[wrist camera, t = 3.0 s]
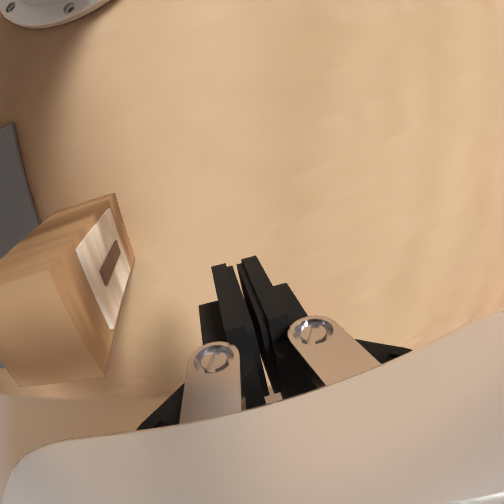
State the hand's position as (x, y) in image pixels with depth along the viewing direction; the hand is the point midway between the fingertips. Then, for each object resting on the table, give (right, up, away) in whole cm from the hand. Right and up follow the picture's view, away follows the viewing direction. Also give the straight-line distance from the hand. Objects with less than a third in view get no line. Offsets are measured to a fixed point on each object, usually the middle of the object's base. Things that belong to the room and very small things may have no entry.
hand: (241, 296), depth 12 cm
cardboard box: (-11, +3, +9) cm, 14 cm away
